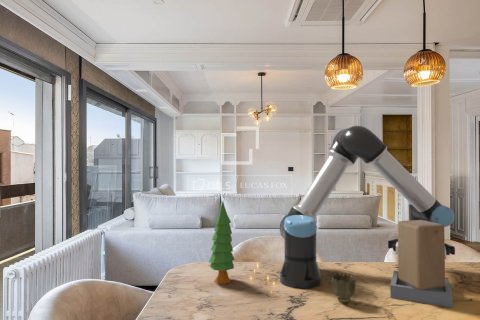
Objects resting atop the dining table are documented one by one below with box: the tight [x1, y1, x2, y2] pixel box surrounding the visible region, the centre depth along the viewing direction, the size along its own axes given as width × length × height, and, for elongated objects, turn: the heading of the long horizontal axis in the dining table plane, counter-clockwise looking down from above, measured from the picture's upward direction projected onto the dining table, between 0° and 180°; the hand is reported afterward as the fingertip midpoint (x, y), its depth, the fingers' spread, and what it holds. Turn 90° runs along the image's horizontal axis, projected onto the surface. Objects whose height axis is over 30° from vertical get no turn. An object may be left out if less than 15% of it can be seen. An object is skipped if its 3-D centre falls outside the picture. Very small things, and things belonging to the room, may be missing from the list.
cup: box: [331, 272, 357, 305], centre depth 105 cm, size 8×7×8 cm
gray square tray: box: [389, 270, 454, 309], centre depth 112 cm, size 17×17×4 cm
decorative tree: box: [208, 201, 235, 285], centre depth 125 cm, size 10×9×30 cm
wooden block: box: [397, 219, 446, 290], centre depth 109 cm, size 10×10×20 cm
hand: (420, 252), depth 109 cm, fingers closed on wooden block, 13 cm apart
